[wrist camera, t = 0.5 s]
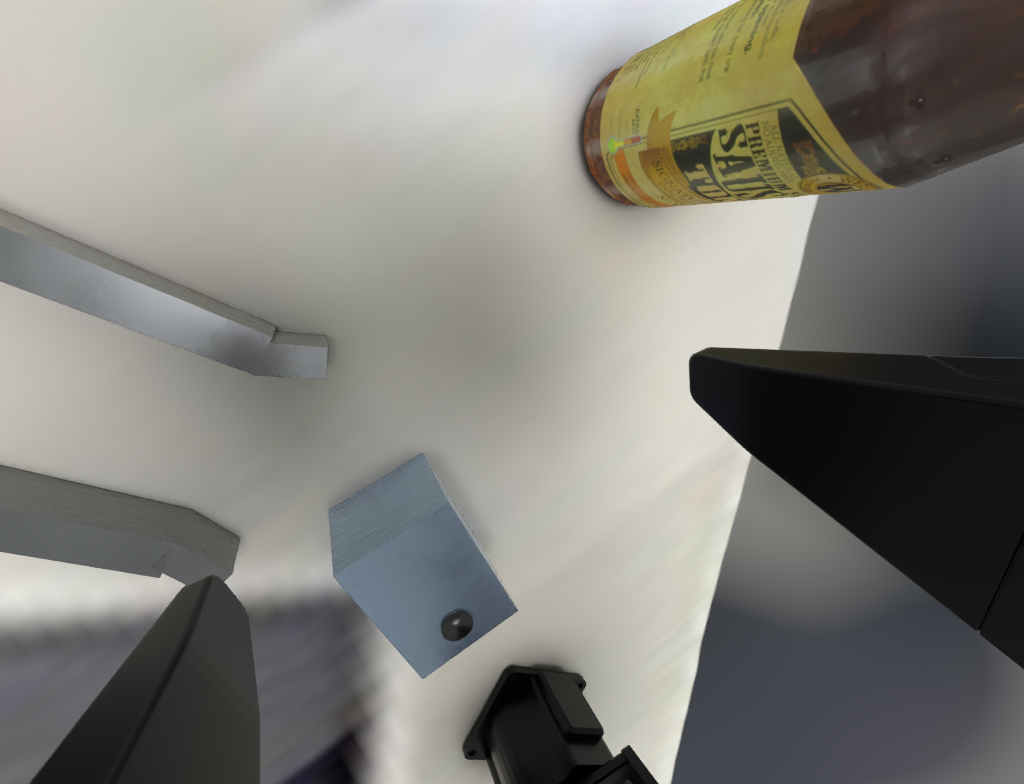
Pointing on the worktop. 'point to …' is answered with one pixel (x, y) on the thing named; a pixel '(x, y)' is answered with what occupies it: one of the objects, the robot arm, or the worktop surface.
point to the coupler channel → (167, 317)
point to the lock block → (416, 566)
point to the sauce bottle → (809, 100)
